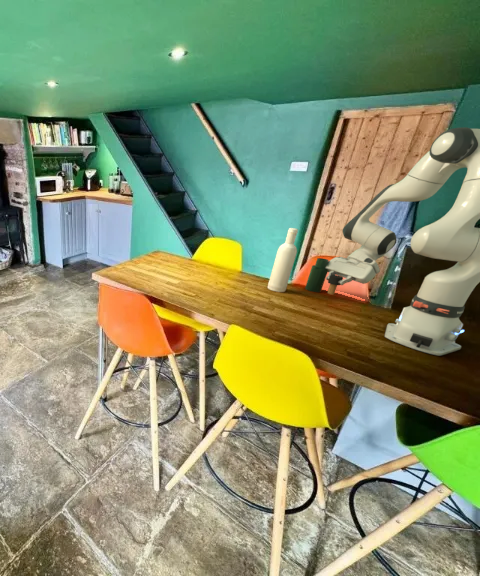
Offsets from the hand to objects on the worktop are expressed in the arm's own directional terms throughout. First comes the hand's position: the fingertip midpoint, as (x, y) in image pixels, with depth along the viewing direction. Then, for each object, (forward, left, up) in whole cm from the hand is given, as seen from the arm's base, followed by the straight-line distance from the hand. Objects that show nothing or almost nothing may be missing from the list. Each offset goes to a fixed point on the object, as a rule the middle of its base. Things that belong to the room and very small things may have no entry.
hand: (333, 281), depth 138 cm
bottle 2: (+6, +9, -8) cm, 13 cm away
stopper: (0, 0, -6) cm, 6 cm away
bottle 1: (-12, +18, -8) cm, 23 cm away
